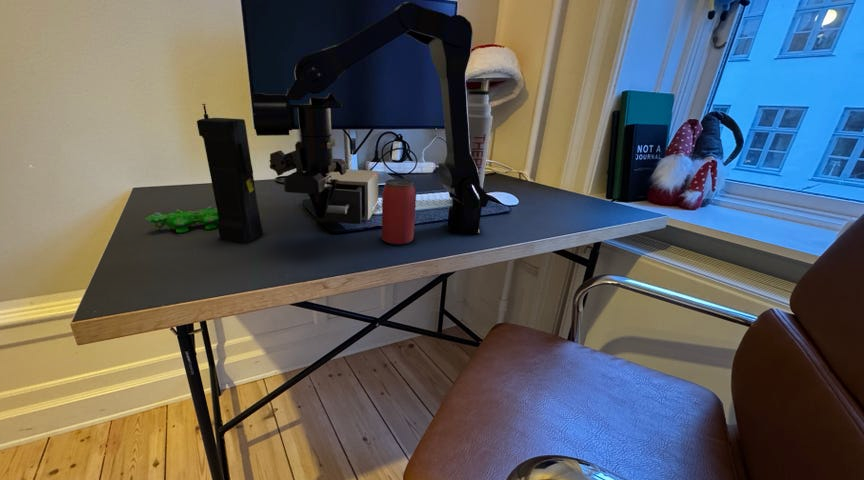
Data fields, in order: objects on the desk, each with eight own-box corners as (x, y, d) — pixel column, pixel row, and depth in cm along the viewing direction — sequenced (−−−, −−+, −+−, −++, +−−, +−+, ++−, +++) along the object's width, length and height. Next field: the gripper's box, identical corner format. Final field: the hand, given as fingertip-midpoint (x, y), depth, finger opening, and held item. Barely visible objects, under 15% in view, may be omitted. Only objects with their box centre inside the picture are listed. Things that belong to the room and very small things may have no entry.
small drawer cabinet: (368, 220, 86) (367, 182, 82) (320, 217, 88) (318, 179, 84) (378, 205, 97) (378, 171, 93) (336, 202, 99) (334, 168, 95)
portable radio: (269, 234, 77) (252, 104, 66) (251, 244, 72) (229, 105, 61) (238, 229, 79) (216, 103, 68) (218, 239, 74) (191, 104, 63)
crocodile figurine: (150, 227, 80) (145, 208, 78) (238, 217, 87) (235, 199, 85) (147, 238, 74) (141, 217, 72) (241, 226, 81) (238, 207, 79)
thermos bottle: (481, 207, 98) (498, 90, 85) (451, 205, 99) (463, 90, 86) (479, 199, 105) (494, 90, 92) (451, 197, 106) (462, 90, 93)
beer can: (414, 246, 73) (417, 186, 67) (381, 245, 73) (382, 185, 68) (412, 234, 79) (415, 178, 73) (382, 233, 79) (383, 177, 73)
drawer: (355, 230, 78) (355, 196, 74) (308, 227, 79) (306, 193, 76) (371, 209, 92) (371, 179, 88) (330, 206, 93) (329, 177, 90)
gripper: (293, 128, 76) (300, 202, 83) (248, 139, 59) (261, 230, 66) (345, 130, 74) (347, 205, 81) (314, 142, 58) (320, 235, 65)
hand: (321, 217), depth 73 cm, fingers closed
